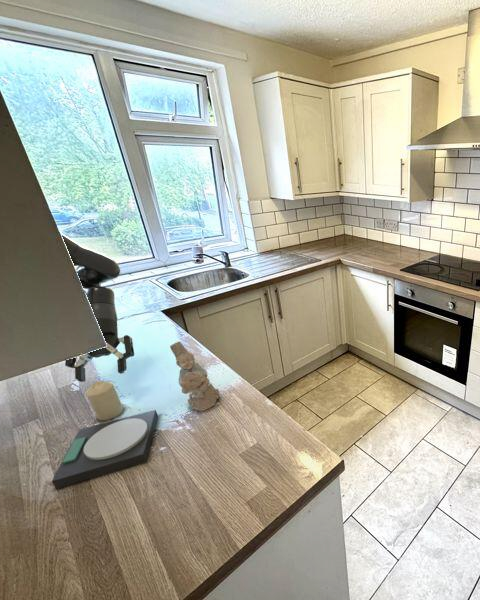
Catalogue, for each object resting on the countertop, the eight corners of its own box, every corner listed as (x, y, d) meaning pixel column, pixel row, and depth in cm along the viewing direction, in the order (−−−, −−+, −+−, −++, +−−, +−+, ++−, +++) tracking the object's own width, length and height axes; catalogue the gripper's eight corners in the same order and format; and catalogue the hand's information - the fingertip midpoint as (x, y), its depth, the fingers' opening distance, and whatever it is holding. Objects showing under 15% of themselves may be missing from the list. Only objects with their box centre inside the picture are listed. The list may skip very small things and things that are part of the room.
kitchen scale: (55, 489, 70) (49, 478, 69) (83, 436, 83) (78, 426, 82) (146, 461, 76) (142, 451, 75) (158, 416, 89) (154, 407, 88)
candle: (102, 423, 87) (87, 393, 83) (94, 415, 90) (80, 386, 86) (126, 411, 91) (114, 382, 87) (118, 403, 94) (106, 375, 90)
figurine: (186, 399, 96) (167, 340, 88) (218, 388, 100) (202, 331, 92) (188, 417, 89) (167, 355, 81) (222, 405, 93) (206, 345, 85)
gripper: (59, 322, 88) (59, 381, 83) (125, 312, 94) (128, 367, 89) (74, 331, 94) (75, 386, 90) (135, 321, 100) (138, 372, 95)
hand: (101, 376), depth 89 cm, fingers open, 8 cm apart
